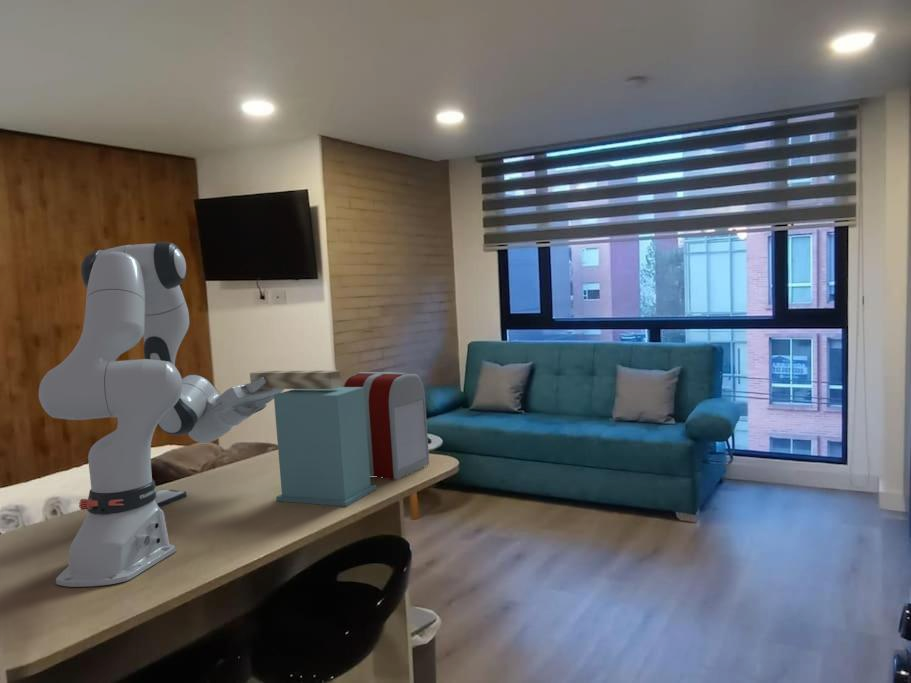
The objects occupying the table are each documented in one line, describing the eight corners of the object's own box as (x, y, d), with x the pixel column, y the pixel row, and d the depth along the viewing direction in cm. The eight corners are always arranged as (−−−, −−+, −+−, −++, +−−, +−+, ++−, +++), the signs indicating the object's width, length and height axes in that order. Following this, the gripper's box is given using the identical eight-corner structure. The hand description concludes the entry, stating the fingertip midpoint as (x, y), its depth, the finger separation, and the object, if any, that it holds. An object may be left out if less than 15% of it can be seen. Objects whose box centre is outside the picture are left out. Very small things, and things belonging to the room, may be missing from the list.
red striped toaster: (396, 480, 185) (389, 377, 182) (344, 474, 194) (337, 376, 192) (431, 464, 199) (425, 369, 196) (381, 459, 208) (374, 368, 206)
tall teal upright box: (376, 489, 178) (369, 386, 175) (346, 506, 165) (338, 396, 162) (309, 484, 185) (301, 386, 183) (276, 500, 173) (267, 395, 170)
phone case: (136, 518, 167) (189, 497, 181) (136, 512, 167) (188, 491, 181) (111, 515, 171) (164, 494, 185) (110, 509, 171) (164, 488, 185)
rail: (340, 386, 173) (339, 370, 172) (331, 389, 169) (330, 372, 169) (261, 386, 182) (260, 370, 182) (251, 388, 178) (249, 373, 178)
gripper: (202, 400, 174) (238, 372, 169) (256, 388, 193) (290, 362, 188) (214, 423, 173) (251, 395, 168) (267, 408, 192) (302, 382, 187)
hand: (272, 377), depth 178 cm, fingers closed on rail, 4 cm apart
